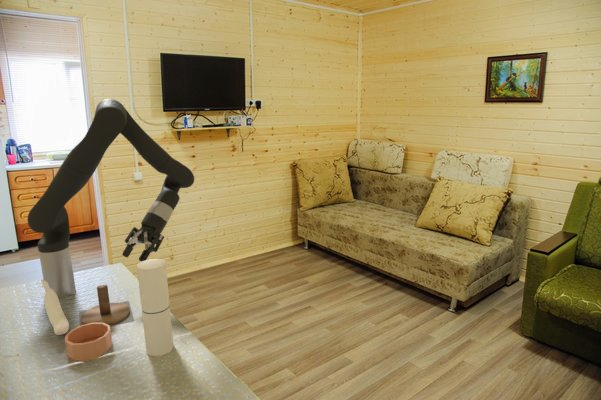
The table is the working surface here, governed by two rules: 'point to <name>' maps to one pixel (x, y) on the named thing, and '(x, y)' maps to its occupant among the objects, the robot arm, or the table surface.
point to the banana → (54, 310)
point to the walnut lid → (105, 310)
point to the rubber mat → (127, 319)
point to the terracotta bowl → (88, 341)
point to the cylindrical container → (155, 306)
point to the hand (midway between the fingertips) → (132, 258)
